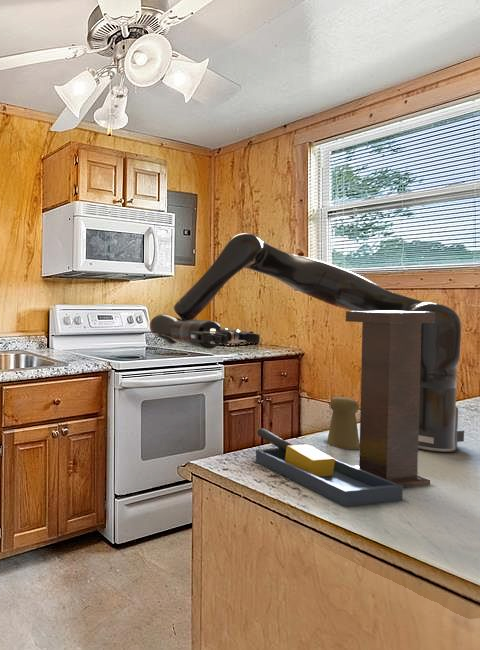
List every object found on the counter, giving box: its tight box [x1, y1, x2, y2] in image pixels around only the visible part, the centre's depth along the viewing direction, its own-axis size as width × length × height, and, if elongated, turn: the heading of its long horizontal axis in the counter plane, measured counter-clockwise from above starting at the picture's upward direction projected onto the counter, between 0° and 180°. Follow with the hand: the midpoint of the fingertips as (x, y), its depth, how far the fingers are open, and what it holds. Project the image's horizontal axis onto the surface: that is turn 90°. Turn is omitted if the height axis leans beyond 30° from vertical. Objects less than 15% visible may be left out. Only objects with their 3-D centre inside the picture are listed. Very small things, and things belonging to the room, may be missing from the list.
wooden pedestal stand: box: [345, 310, 435, 489], centre depth 81 cm, size 10×8×32 cm
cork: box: [326, 396, 360, 450], centre depth 100 cm, size 6×6×11 cm
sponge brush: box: [256, 427, 336, 477], centre depth 88 cm, size 5×16×4 cm, turn 9°
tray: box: [255, 447, 404, 507], centre depth 81 cm, size 12×20×2 cm, turn 10°
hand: (242, 339), depth 101 cm, fingers open, 8 cm apart
